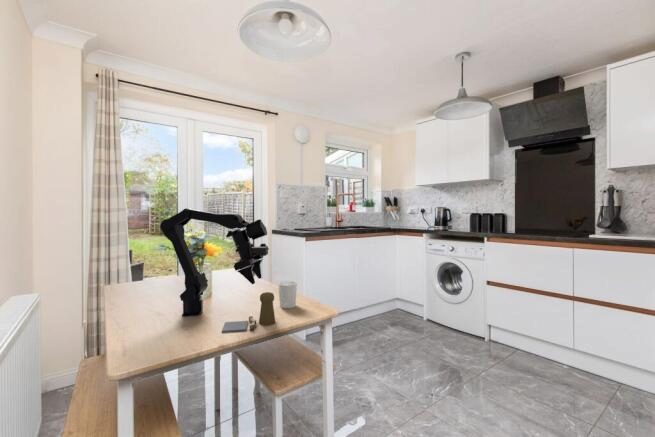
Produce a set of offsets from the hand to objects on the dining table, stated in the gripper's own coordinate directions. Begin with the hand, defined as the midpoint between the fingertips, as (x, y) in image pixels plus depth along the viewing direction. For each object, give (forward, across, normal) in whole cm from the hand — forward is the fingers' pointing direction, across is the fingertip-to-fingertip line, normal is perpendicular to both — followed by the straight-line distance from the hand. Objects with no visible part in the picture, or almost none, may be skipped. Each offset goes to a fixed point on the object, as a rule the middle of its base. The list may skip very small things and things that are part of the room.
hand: (257, 280), depth 119 cm
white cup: (+16, +11, -5) cm, 20 cm away
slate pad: (+11, -13, +9) cm, 19 cm away
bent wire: (+13, -11, +3) cm, 17 cm away
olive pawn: (+15, -8, -1) cm, 17 cm away
